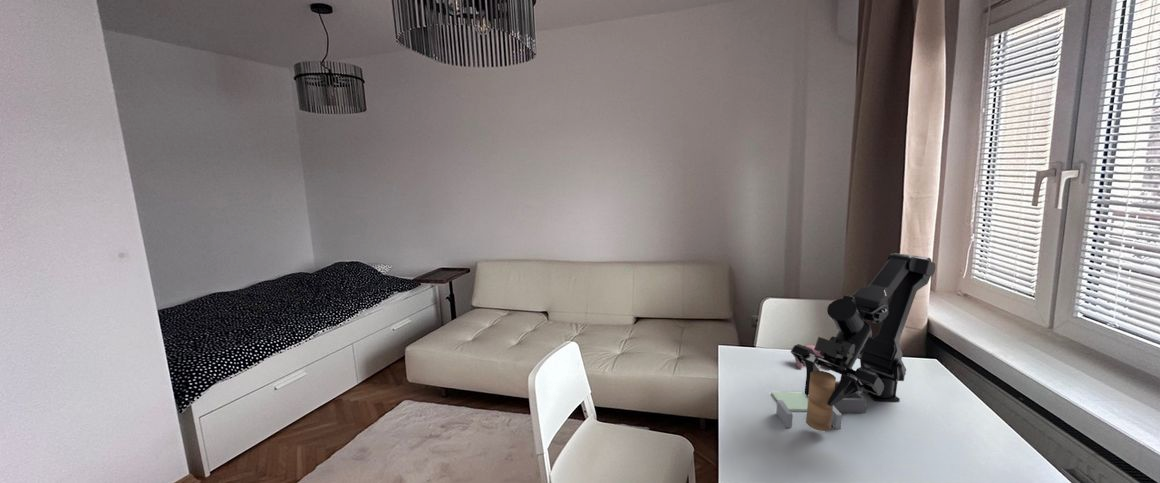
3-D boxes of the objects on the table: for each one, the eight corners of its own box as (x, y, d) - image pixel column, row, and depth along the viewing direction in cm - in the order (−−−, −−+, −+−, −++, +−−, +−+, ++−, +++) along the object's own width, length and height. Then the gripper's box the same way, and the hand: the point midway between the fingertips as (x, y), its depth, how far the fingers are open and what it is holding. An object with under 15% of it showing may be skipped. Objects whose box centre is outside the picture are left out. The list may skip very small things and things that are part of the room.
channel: (827, 413, 108) (829, 400, 107) (840, 428, 102) (842, 414, 101) (776, 413, 108) (777, 400, 108) (786, 427, 102) (787, 414, 102)
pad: (802, 394, 117) (802, 392, 116) (816, 411, 109) (816, 409, 109) (771, 393, 117) (771, 392, 117) (783, 410, 109) (783, 409, 109)
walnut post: (825, 418, 102) (829, 370, 100) (835, 431, 97) (840, 382, 95) (802, 417, 102) (806, 370, 100) (811, 430, 98) (815, 381, 95)
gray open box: (845, 393, 116) (846, 381, 116) (865, 412, 108) (866, 400, 107) (810, 393, 117) (811, 381, 116) (827, 412, 108) (829, 399, 107)
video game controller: (826, 369, 133) (823, 345, 135) (833, 369, 129) (830, 345, 130) (793, 368, 134) (790, 345, 136) (799, 368, 129) (796, 344, 131)
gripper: (798, 312, 105) (765, 366, 102) (883, 338, 89) (848, 404, 86) (814, 335, 110) (784, 387, 107) (897, 364, 95) (865, 426, 91)
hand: (817, 399), depth 98 cm, fingers closed on walnut post, 5 cm apart
